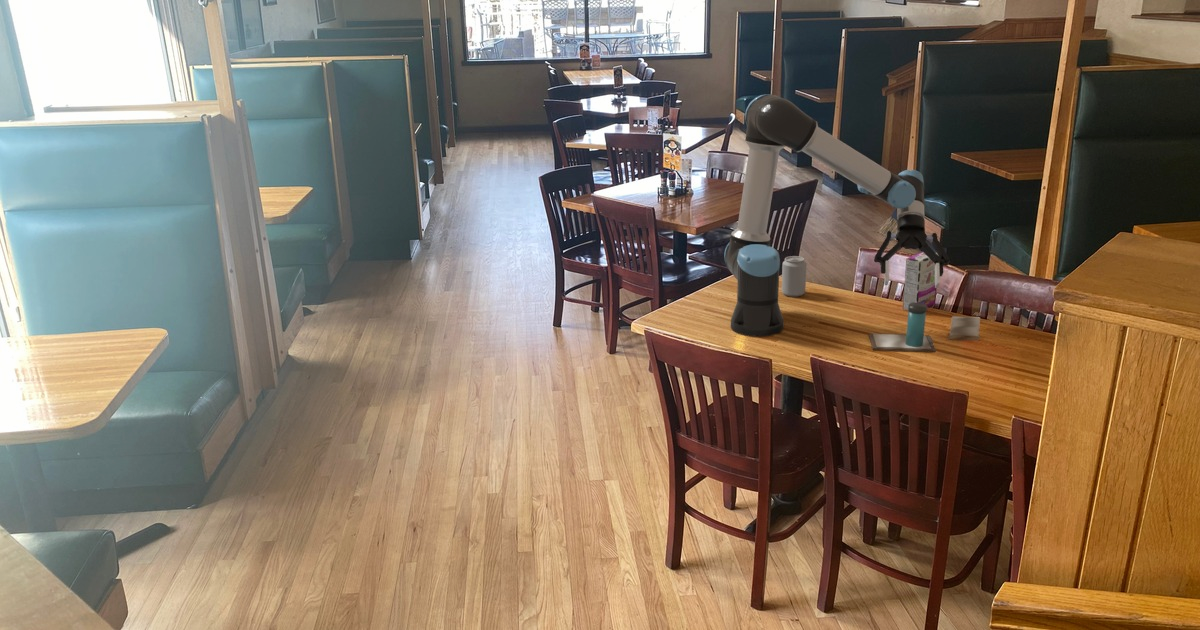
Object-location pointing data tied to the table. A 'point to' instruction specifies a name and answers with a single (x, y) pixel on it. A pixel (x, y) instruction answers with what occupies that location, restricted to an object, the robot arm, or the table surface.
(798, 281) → the can
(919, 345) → the teal lidded bottle
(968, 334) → the word sign
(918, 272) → the candy bar box
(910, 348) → the grey flat rectangular slab
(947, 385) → the table surface
